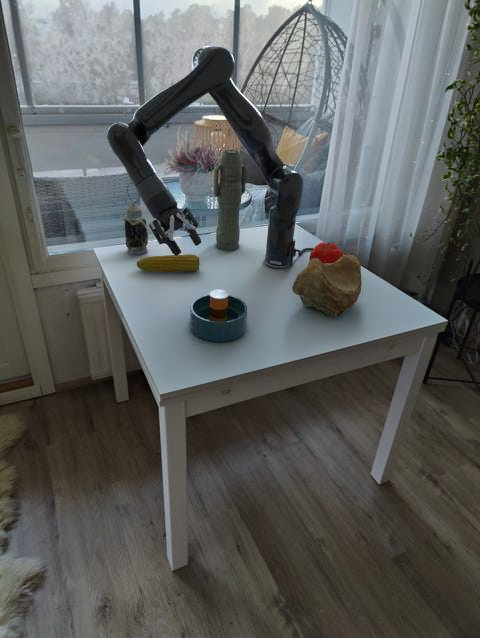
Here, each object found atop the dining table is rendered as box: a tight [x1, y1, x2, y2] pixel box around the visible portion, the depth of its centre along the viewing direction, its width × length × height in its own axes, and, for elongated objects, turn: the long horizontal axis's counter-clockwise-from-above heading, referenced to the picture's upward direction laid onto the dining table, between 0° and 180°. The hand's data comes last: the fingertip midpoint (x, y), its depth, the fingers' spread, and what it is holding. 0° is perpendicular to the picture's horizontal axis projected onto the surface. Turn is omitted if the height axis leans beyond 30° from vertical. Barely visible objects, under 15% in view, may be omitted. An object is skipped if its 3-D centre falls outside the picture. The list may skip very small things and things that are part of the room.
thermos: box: [213, 149, 247, 252], centre depth 162 cm, size 9×12×35 cm
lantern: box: [122, 182, 149, 256], centre depth 156 cm, size 9×8×25 cm
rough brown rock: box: [291, 253, 362, 319], centre depth 131 cm, size 23×17×15 cm
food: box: [136, 254, 201, 273], centre depth 148 cm, size 21×6×6 cm, turn 98°
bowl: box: [189, 293, 248, 343], centre depth 121 cm, size 15×15×6 cm
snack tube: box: [209, 289, 230, 322], centre depth 119 cm, size 5×5×10 cm
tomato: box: [308, 241, 345, 264], centre depth 155 cm, size 11×12×9 cm
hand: (189, 249), depth 119 cm, fingers open, 8 cm apart
